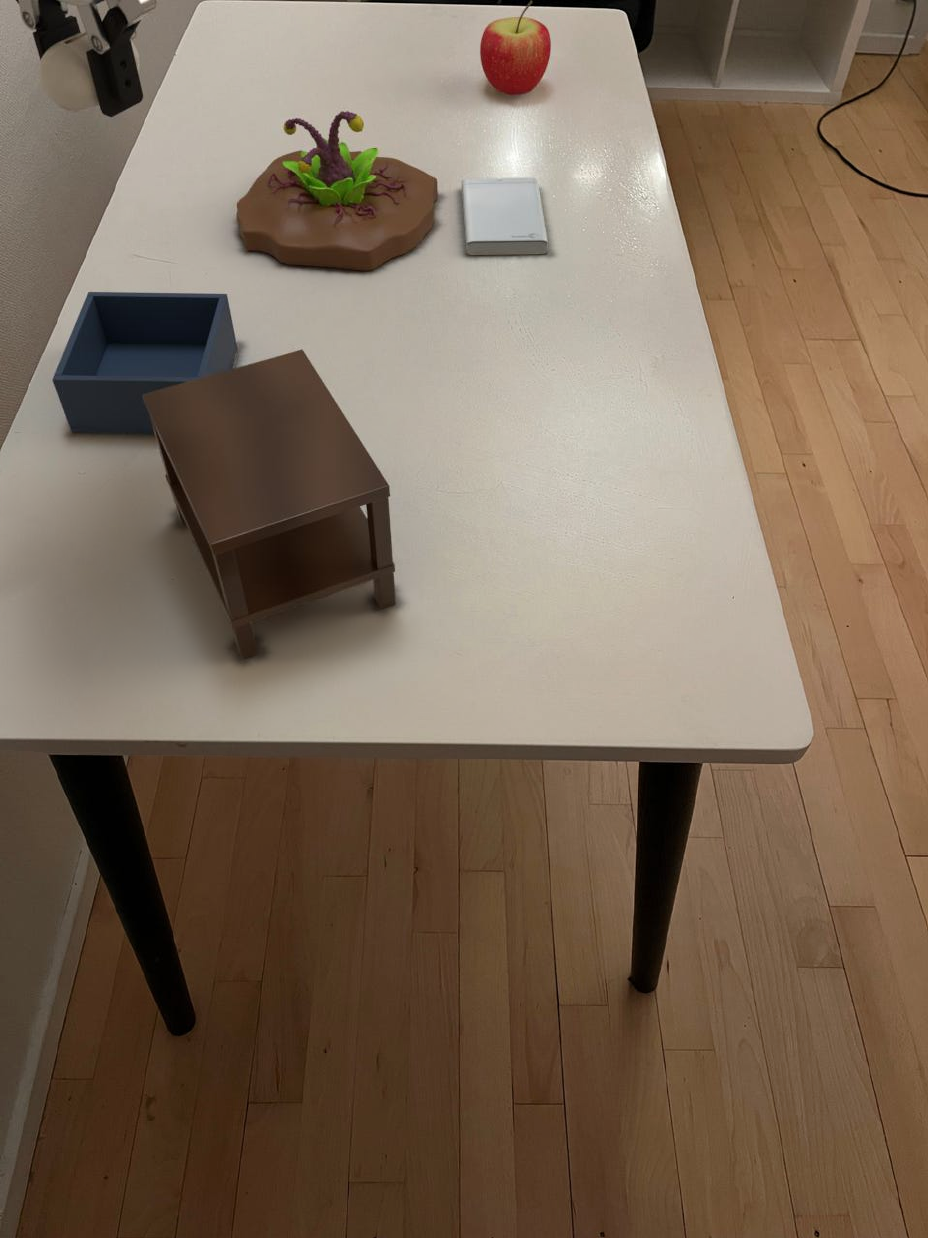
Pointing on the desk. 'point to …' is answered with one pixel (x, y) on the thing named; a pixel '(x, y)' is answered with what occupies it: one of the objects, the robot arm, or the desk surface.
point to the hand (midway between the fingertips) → (97, 95)
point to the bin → (139, 355)
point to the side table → (273, 489)
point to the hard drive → (503, 216)
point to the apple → (515, 53)
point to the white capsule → (71, 73)
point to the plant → (336, 204)
